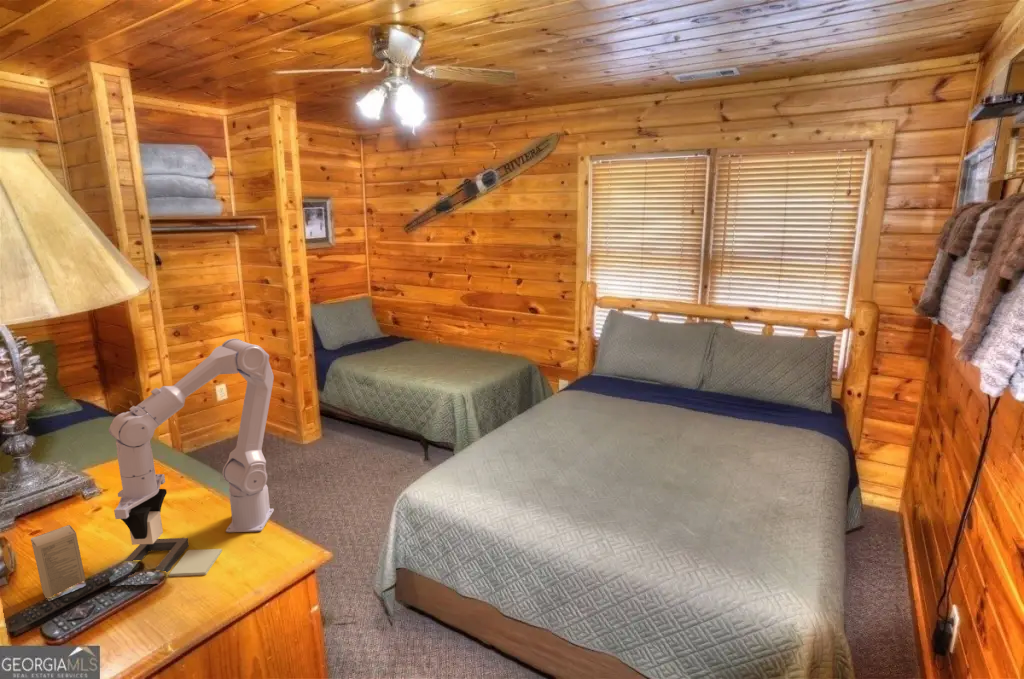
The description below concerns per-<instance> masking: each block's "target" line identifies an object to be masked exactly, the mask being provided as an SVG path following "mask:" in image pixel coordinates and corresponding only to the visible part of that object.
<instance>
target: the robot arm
mask: <svg viewBox="0 0 1024 679" xmlns="http://www.w3.org/2000/svg"><path fill="white" fill-rule="evenodd" d="M231 374H232V375H233V374H234V375H235V374H240V376H241V377H242V378H244V380H246V389H245V395H244V400H243V405H242V411H241V417H240V422H239V430H238V435H237V441H236V446H235V448H234V449H233V450H231V452H230V453H229V456H228V459H227V462H226V463H225V464H224V466H223V468H222V477H223V479H224V480H225V481H226V482H228V485H229V488H228V492H229V500H230V501H229V503H230V511H231V523H229V525H228V526H227V528H226V529H225V532H226V533H244V532H245V533H246V532H249V533H250V532H253V533H254V532H261V531H263V530H264V528H265V526H266V524H267V523H268V521H269V520H270V518H271V516H272V514H273V513H274V511H275V509H274V508H271V507H270V497H269V496H270V495H269V488H268V485H267V482H268V473H267V469H266V466H267V460H266V458H265V456H264V454H263V450H262V448H263V442H264V439H265V438H264V437H265V432H266V425H267V420H268V414H269V410H270V409H269V408H270V402H271V396H272V390H273V386H274V378H275V377H274V376H275V375H274V373H273V370H272V366H271V363H270V355H269V353H268V352H267V351H265V350H264V348H263V347H261V346H260V345H257V344H252V343H249V342H245V341H244V340H242V339H239V338H229V339H227V340H226V341H224V342H223V343H222V345H219V346H216V347H215V348H214V349H213V350H212V352H211V353H210V354H209V355H208V356H207V357H205V359H204V360H202V361H201V362H200V363H199V364H198V365H196V366H195V367H194V368H193V369H191V370H190V371H189V372H188V373H187V374H185V375H184V376H183V377H182V378H180V380H178V381H177V382H176V383H175V384H173V385H163V386H161V387H160V388H158V387H155V388H153V390H151V391H150V393H151V394H150V395H149V396H148V397H146V398H145V399H144V400H143V401H141V402H139V403H138V404H137V405H136V406H135V405H132V406H131V407H130V408H129V411H126V412H121V413H119V414H117V415H116V416H115V417H114V418H112V422H111V423H110V426H109V427H108V429H107V430H108V432H109V433H108V434H110V436H111V437H113V438H114V439H116V440H115V446H116V452H117V453H116V455H117V462H118V467H119V468H118V469H119V473H120V481H121V486H122V489H121V490H120V491H118V493H117V497H119V498H120V499H119V502H118V505H117V506H116V508H115V509H114V510H113V511H114V517H115V520H121V521H122V522H123V523H124V524H125V525H126V526H127V528H128V530H129V532H130V531H131V533H132V535H133V537H134V539H145V538H146V537H147V520H148V514H149V512H154V511H160V513H161V511H162V506H163V503H164V501H165V497H166V495H167V489H166V488H161V486H162V485H164V484H165V483H166V478H165V474H164V473H162V474H161V473H156V469H155V462H154V454H153V448H152V444H151V440H152V438H153V436H154V434H155V430H156V429H157V428H159V427H160V426H161V425H162V424H164V422H165V423H166V421H167V420H168V419H170V418H171V417H172V416H174V415H175V414H176V413H178V412H179V411H180V410H181V409H183V408H184V407H185V403H186V398H188V397H189V396H190V395H191V394H193V393H195V392H196V391H198V390H199V389H200V388H202V387H204V386H205V385H206V384H207V383H209V382H210V381H211V380H213V379H215V378H216V377H218V376H219V375H231Z"/></svg>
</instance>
